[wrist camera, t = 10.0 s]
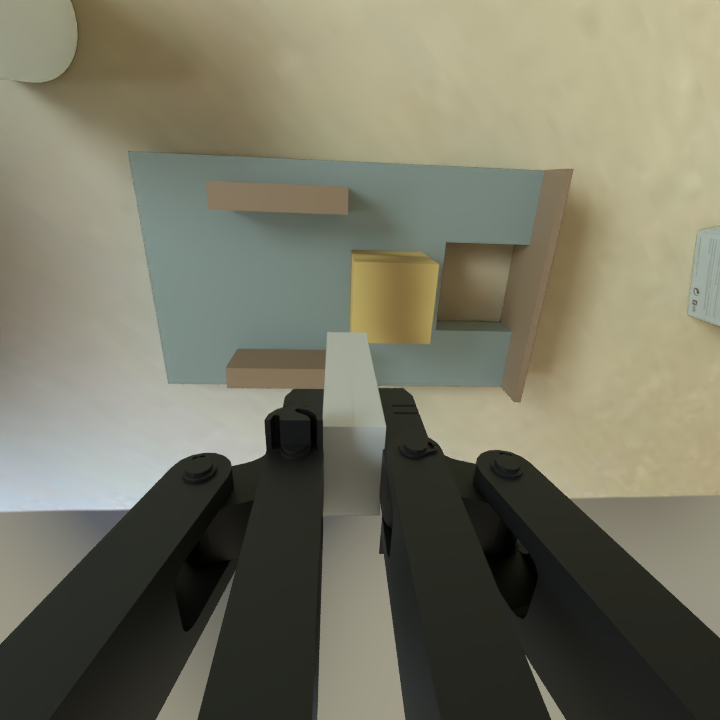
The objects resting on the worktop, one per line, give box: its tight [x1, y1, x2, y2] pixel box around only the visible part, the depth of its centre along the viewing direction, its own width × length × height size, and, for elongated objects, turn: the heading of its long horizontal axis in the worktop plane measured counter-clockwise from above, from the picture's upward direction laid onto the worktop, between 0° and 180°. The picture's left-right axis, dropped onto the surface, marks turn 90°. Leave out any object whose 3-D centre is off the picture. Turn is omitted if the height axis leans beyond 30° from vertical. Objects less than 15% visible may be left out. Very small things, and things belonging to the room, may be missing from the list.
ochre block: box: [349, 250, 439, 344], centre depth 26 cm, size 5×5×5 cm
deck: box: [128, 151, 574, 402], centre depth 28 cm, size 27×16×6 cm, turn 88°
